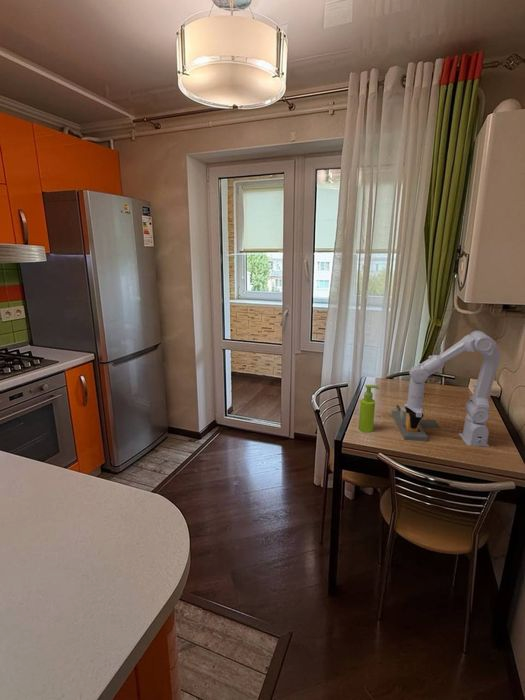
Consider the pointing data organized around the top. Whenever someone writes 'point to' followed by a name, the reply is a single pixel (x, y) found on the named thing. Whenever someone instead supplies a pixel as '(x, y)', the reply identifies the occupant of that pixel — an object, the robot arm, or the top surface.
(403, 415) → the grey panel with knob
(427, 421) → the mat
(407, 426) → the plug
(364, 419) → the soap dispenser
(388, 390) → the top surface
